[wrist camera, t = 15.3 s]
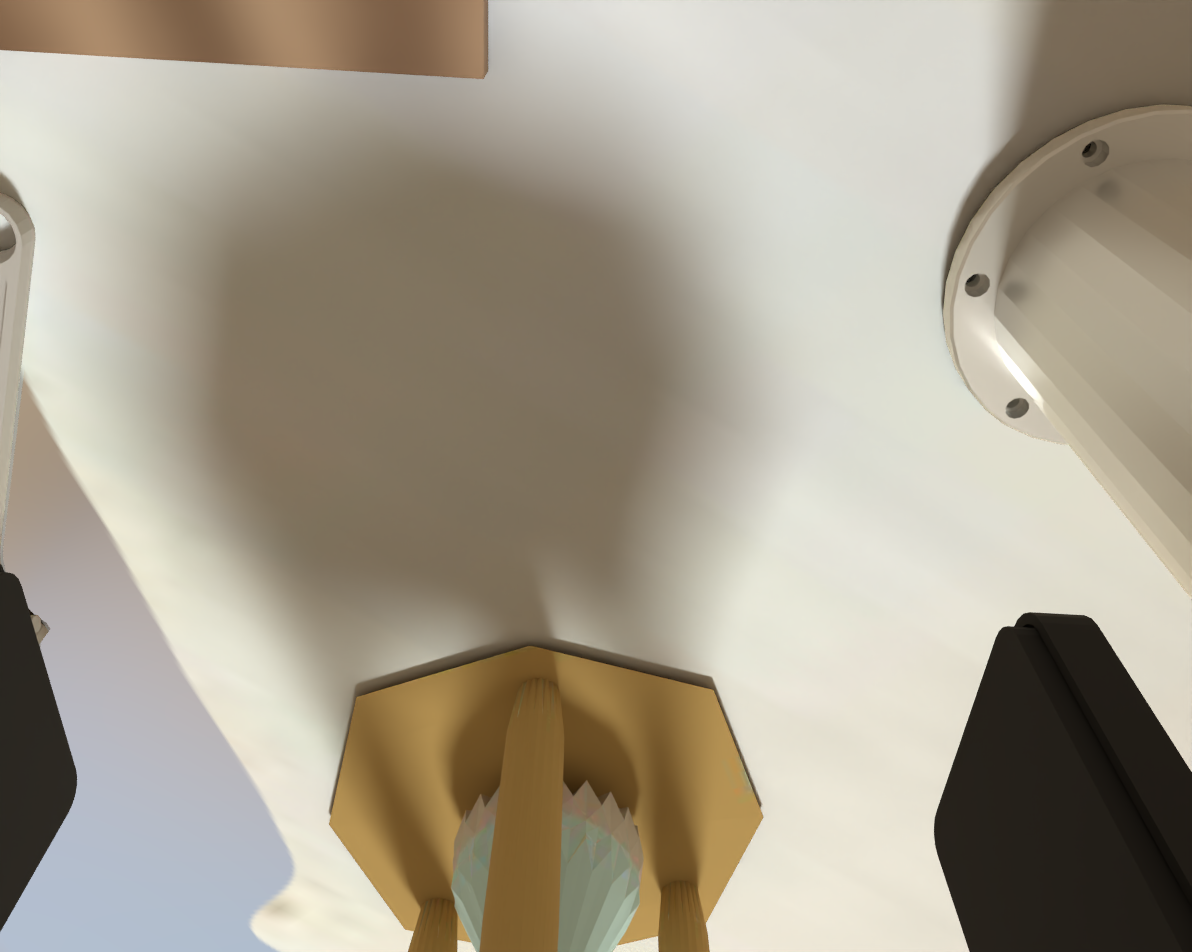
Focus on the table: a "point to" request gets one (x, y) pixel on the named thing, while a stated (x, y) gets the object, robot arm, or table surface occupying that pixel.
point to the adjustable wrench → (13, 352)
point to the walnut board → (262, 32)
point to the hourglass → (545, 805)
